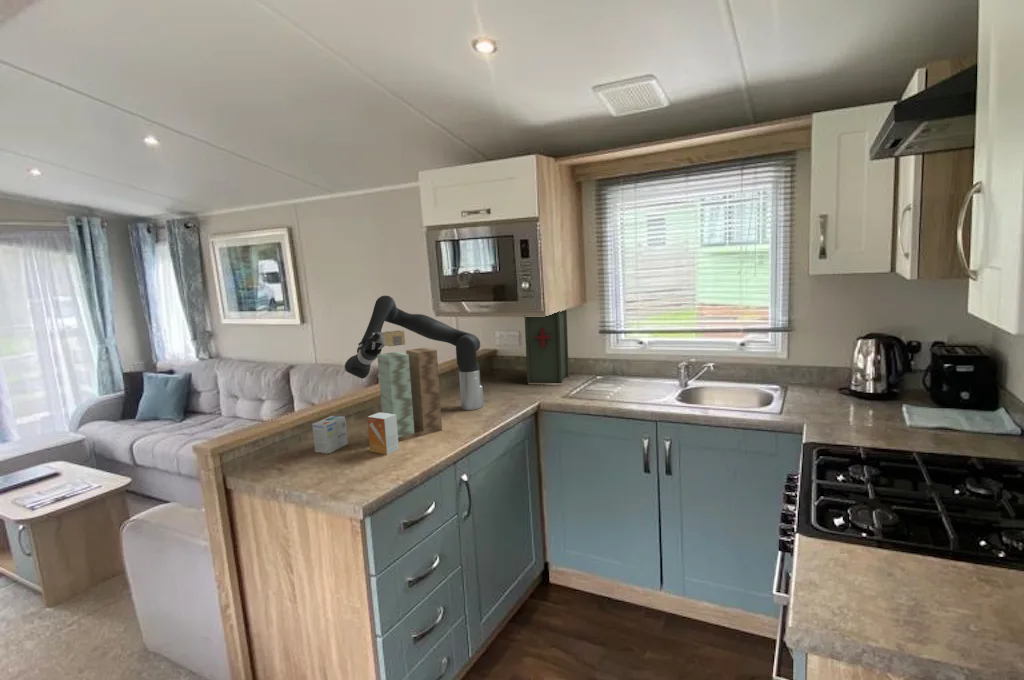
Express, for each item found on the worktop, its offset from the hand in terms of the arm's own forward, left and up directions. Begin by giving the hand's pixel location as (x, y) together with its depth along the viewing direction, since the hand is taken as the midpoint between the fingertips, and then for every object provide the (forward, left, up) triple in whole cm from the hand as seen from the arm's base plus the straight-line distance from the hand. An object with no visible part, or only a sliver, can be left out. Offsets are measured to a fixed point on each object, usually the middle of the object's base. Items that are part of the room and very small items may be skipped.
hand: (382, 334), depth 207 cm
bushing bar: (0, +4, -3) cm, 5 cm away
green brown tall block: (-6, +8, -39) cm, 40 cm away
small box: (+11, +19, -39) cm, 45 cm away
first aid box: (-102, -21, -39) cm, 111 cm away
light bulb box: (+24, +2, -39) cm, 46 cm away
